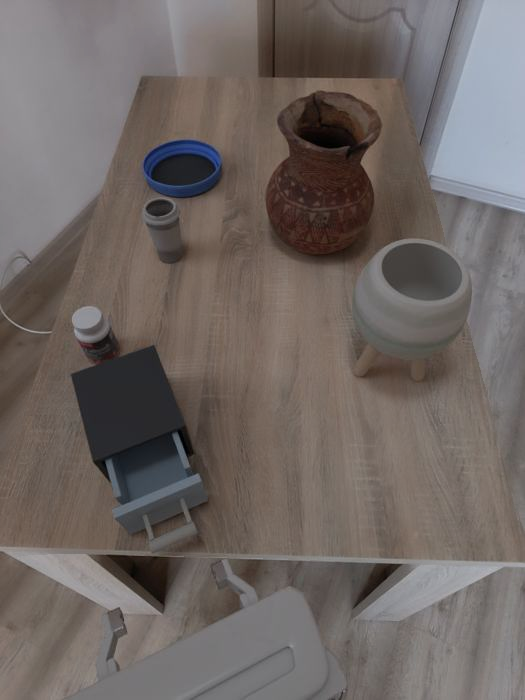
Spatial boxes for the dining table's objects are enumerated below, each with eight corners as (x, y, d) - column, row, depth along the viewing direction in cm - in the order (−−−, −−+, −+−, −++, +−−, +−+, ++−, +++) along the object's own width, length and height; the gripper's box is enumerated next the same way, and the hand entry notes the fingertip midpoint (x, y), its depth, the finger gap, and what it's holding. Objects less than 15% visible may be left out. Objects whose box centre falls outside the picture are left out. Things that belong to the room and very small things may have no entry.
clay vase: (383, 257, 96) (415, 142, 75) (284, 279, 92) (289, 165, 72) (342, 190, 108) (360, 75, 87) (253, 208, 104) (250, 93, 84)
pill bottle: (88, 369, 81) (68, 334, 73) (86, 343, 84) (66, 307, 76) (122, 361, 82) (106, 326, 74) (118, 335, 85) (103, 299, 77)
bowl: (231, 158, 115) (230, 144, 112) (208, 205, 105) (207, 191, 102) (161, 147, 118) (159, 134, 115) (133, 193, 108) (129, 179, 105)
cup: (150, 266, 95) (136, 219, 85) (155, 243, 98) (143, 195, 88) (186, 267, 94) (176, 219, 85) (190, 243, 98) (181, 195, 88)
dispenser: (194, 453, 72) (185, 425, 64) (113, 487, 70) (92, 461, 61) (166, 378, 80) (154, 344, 72) (91, 406, 77) (70, 373, 69)
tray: (221, 534, 65) (215, 517, 58) (140, 571, 62) (124, 558, 55) (178, 421, 74) (169, 396, 68) (106, 449, 72) (89, 426, 65)
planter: (450, 393, 78) (507, 306, 59) (356, 411, 76) (384, 327, 58) (413, 317, 87) (453, 221, 68) (328, 332, 85) (345, 237, 67)
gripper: (367, 694, 33) (277, 521, 42) (61, 886, 26) (31, 632, 35) (352, 711, 37) (273, 551, 46) (87, 878, 31) (54, 654, 39)
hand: (167, 587), depth 41 cm, fingers open, 8 cm apart
